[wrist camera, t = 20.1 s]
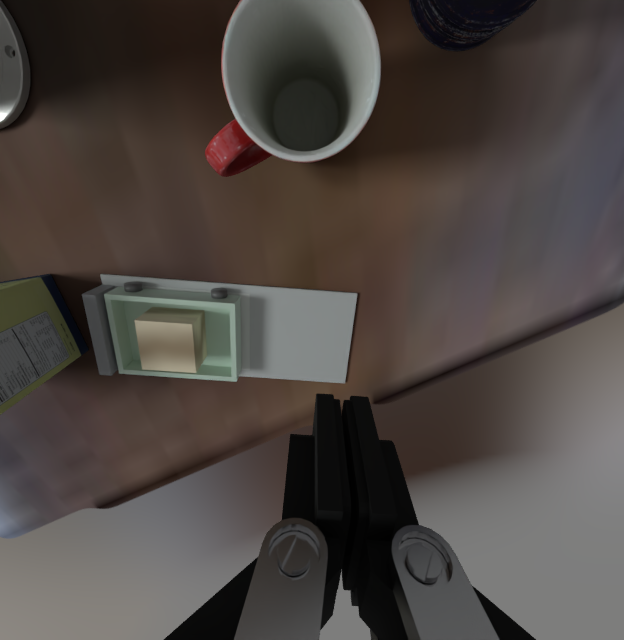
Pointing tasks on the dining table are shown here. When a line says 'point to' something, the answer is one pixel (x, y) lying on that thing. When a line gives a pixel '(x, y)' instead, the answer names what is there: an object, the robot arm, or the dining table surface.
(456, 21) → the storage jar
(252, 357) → the track
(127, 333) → the cart
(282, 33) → the mug
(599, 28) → the dining table surface
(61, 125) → the dining table surface
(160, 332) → the beige square block
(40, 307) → the protein box
